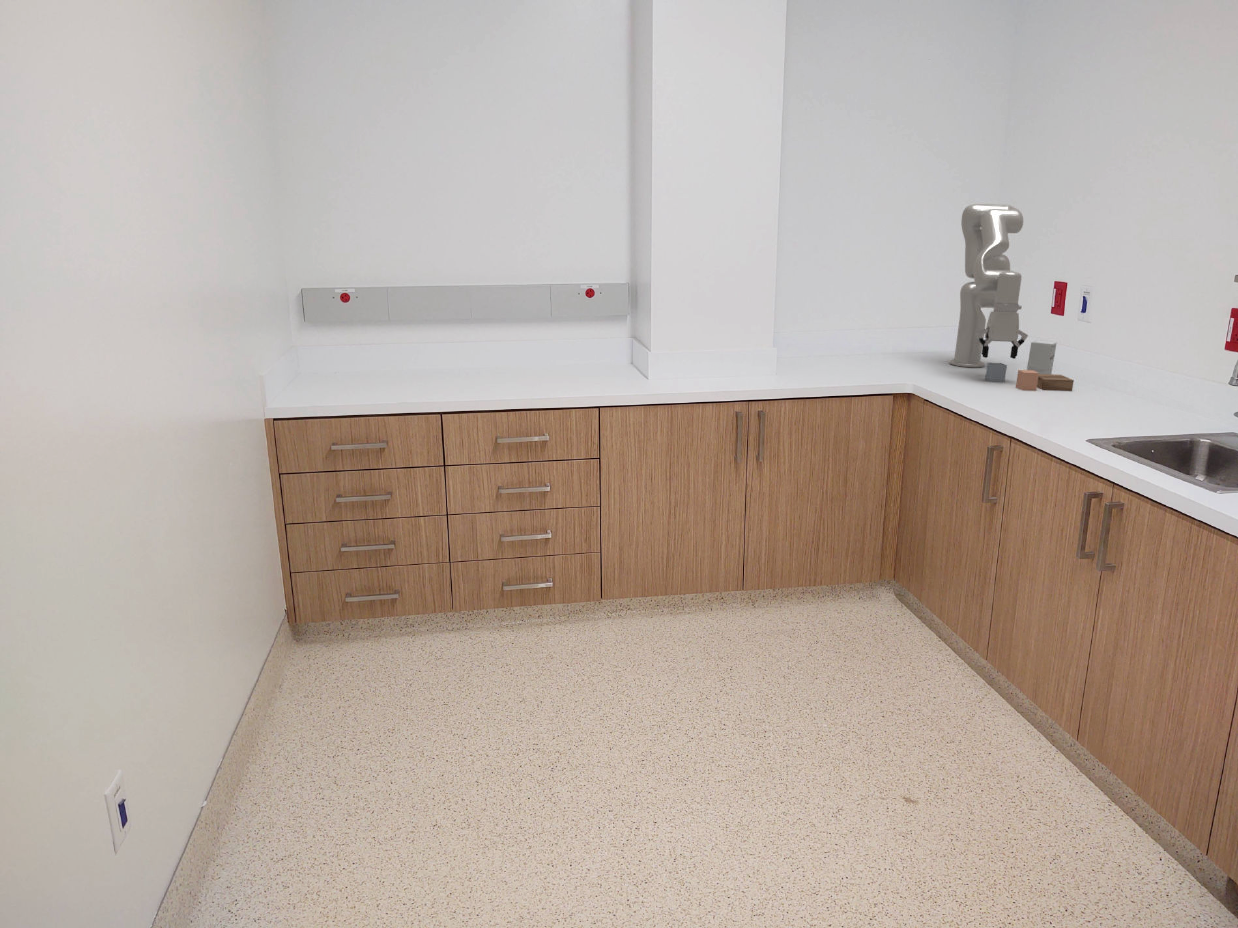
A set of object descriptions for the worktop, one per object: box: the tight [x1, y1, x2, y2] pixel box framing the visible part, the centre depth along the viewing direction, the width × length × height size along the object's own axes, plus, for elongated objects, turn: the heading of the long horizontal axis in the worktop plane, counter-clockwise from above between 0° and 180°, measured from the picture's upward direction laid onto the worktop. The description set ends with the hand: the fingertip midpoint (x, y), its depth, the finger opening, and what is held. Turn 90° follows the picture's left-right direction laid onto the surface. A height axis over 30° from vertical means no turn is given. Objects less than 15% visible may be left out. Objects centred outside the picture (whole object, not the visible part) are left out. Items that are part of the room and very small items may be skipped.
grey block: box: [984, 362, 1008, 383], centre depth 324 cm, size 5×5×6 cm
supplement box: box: [1026, 339, 1058, 374], centre depth 334 cm, size 7×7×13 cm
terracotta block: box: [1015, 369, 1039, 391], centre depth 311 cm, size 5×5×6 cm
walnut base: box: [1037, 373, 1075, 392], centre depth 315 cm, size 10×10×4 cm
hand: (998, 357), depth 321 cm, fingers open, 9 cm apart
